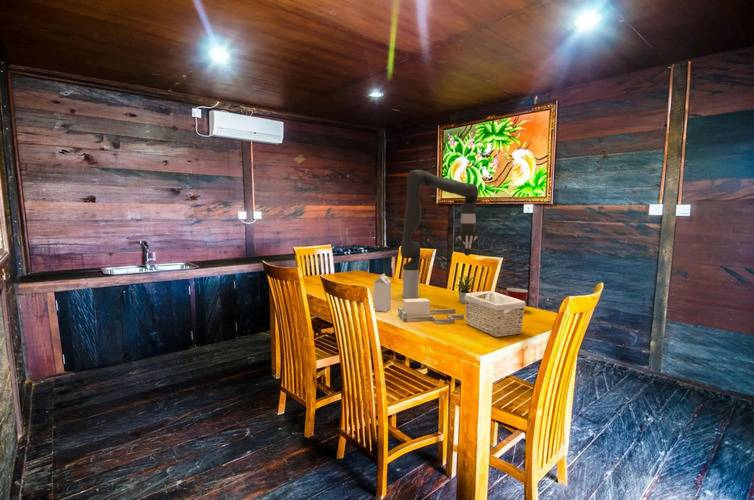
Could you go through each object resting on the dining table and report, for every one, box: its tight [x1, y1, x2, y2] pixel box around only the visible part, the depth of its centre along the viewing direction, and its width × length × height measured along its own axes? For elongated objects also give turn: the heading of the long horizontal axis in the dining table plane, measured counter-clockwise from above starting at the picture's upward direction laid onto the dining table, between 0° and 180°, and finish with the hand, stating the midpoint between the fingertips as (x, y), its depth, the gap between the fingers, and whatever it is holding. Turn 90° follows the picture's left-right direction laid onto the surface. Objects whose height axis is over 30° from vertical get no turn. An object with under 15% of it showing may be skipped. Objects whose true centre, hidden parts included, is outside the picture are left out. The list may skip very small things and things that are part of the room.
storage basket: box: [464, 290, 526, 338], centre depth 174 cm, size 24×16×15 cm
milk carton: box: [373, 272, 392, 313], centre depth 204 cm, size 7×7×19 cm
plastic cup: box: [506, 287, 529, 302], centre depth 203 cm, size 11×11×12 cm
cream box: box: [402, 297, 431, 317], centre depth 190 cm, size 6×12×9 cm, turn 100°
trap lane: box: [397, 306, 465, 325], centre depth 192 cm, size 23×30×4 cm
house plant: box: [455, 275, 477, 304], centre depth 221 cm, size 14×14×16 cm
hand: (467, 255), depth 204 cm, fingers closed
